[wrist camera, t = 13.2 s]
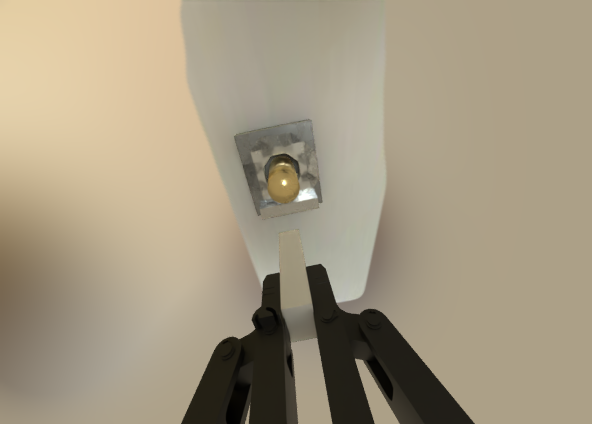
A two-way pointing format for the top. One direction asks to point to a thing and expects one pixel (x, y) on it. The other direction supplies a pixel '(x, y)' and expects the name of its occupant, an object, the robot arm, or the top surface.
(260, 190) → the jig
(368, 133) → the top surface
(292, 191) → the brass rounded cylinder
